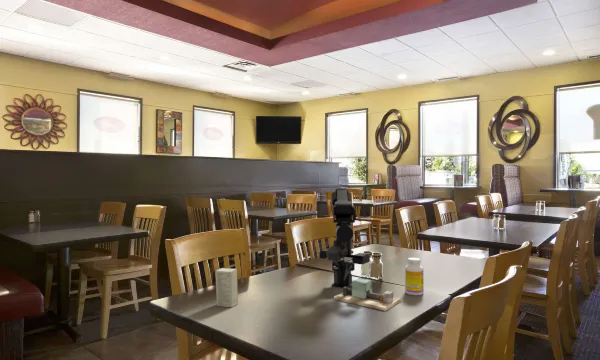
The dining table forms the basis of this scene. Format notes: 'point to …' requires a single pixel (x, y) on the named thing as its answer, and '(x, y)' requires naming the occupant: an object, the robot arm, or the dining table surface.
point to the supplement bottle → (414, 277)
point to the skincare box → (226, 287)
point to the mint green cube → (361, 287)
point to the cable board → (369, 299)
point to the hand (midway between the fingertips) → (343, 279)
